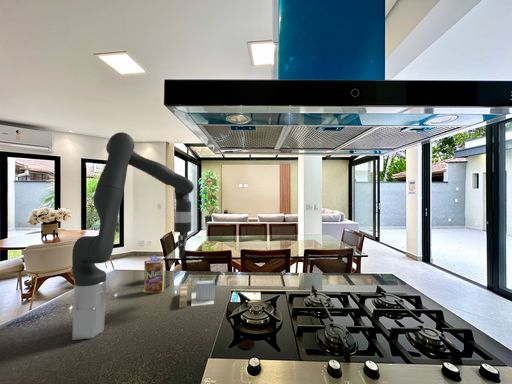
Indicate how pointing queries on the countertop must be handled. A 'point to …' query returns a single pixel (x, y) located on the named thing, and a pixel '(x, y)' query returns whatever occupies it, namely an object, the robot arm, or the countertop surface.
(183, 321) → the countertop surface
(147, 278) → the candy box
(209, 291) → the medicine box
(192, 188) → the robot arm
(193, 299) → the mat
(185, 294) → the ledge
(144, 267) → the ink cartridge box
